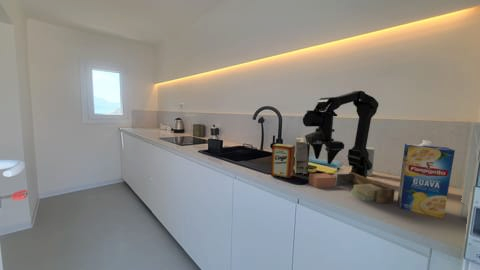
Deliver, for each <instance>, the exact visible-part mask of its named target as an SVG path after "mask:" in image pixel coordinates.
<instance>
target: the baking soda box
mask: <svg viewBox="0 0 480 270" xmlns="http://www.w3.org/2000/svg"><path fill="white" fill-rule="evenodd" d="M271 149H272V150H271V165H270V166H271V167H270V168H271V169H270V170H271V171H270V176H271V177H276V176H275V175H277V176H283V177H288V178H290V177H291V176H292V175H293V176H294V167H295V151H296V145H293V144H292V145H291V144H287V143H285V144H284V143H283V144H282V143H275V144H272V147H271ZM293 176H292V177H293ZM292 177H291V178H292ZM291 178H290V179H291Z"/></svg>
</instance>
